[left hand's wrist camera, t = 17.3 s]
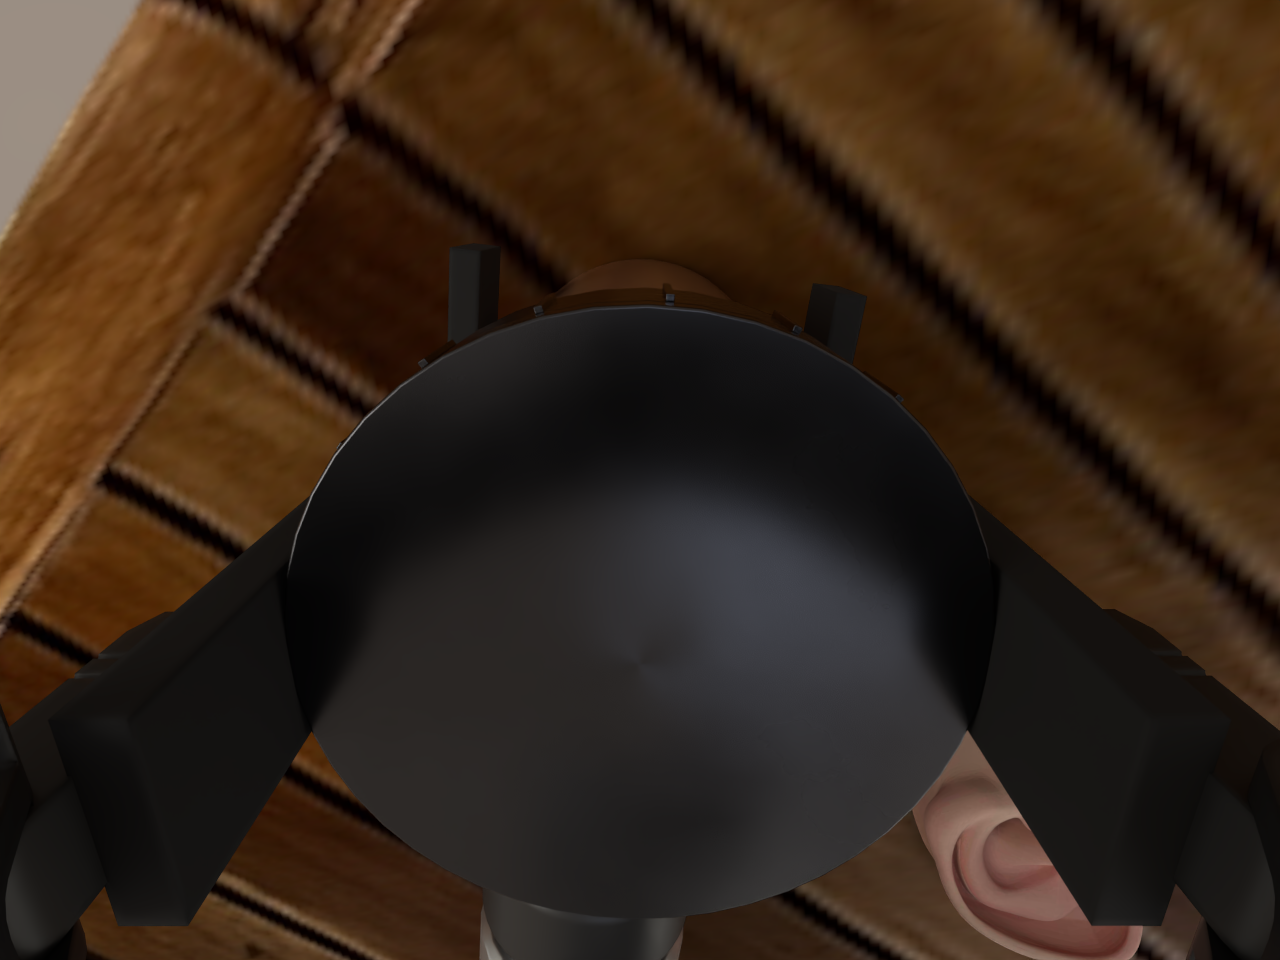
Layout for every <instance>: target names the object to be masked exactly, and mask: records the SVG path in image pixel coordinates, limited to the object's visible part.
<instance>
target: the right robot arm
mask: <svg viewBox="0 0 1280 960" xmlns="http://www.w3.org/2000/svg"><path fill="white" fill-rule="evenodd" d="M500 251H501V247H500V246H491V245H483V244H474V243H473V244H468V245H462V246H456V247H450V262H449V310H448V342H449V341H451V340H452V339H453V340H454V342H455V343H456V344H458V343H459V342H461V341H462V340H464V339H465V338H467V337H468V336H469V335H471V334H472V333H474V332H475V331H477V330H479V329H481V328H483V327H485V326H487V325H489V324H491V323H493V322H495V321H497V319H498V296H499V273H500ZM866 298H867V296H864V295H861V294H859V293H856V292H853V291H850V290H848V289H845V288H842V287H839V286H831V285H823V284H815V283H813V286H812V291H811V296H810V301H809V307H808V312H807V317H806V322H805V328H804V332H805V333H807V334H808V335H810V336H812V337H814V338H815V339H817V340H818V341H820V342H821V343H822V344H824V345H825V346H827V347H828V348H829V349H831V350H832V351H834V352H835V353H837V354H838V355H839V356H841V357H842V358H844V359H845V360H846V361H848V362H849V363H851V364H852V363H853V359H854V354H855V349H856V345H857V340H858V335H859V331H860V326H861V322H862V317H863V312H864V308H865V303H866ZM685 919H686V916H683V917H676V918H654V919H623V918H607V917H593V916H587V915H581V914H574V913H568V912H562V911H556V910H552V909H548V908H544V907H540V906H536V905H533V904H529V903H525V902H521V901H517V900H515V899H512V898H509V897H507V896H504V895H501V894H499V893H496V892H493V891H491V890H488V889H485V888H483V907H482V912H481V936H480V960H678V959H679V954H680V949H681V944H682V939H683V926H684V922H685Z"/></svg>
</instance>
